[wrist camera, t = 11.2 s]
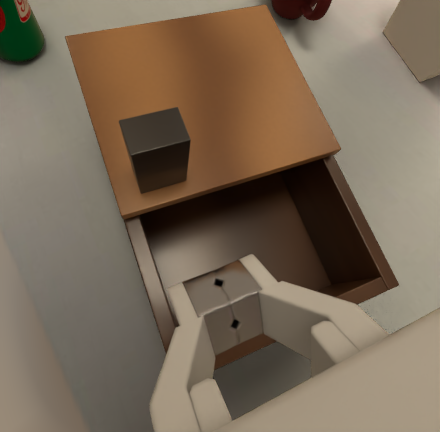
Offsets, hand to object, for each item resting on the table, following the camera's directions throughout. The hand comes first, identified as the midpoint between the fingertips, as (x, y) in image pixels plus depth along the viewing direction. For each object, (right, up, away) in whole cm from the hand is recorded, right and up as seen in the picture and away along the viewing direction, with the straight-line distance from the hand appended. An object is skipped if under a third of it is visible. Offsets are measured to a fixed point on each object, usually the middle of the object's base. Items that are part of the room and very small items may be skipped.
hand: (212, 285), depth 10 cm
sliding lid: (-1, +11, +13) cm, 17 cm away
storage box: (+2, -1, +18) cm, 18 cm away
